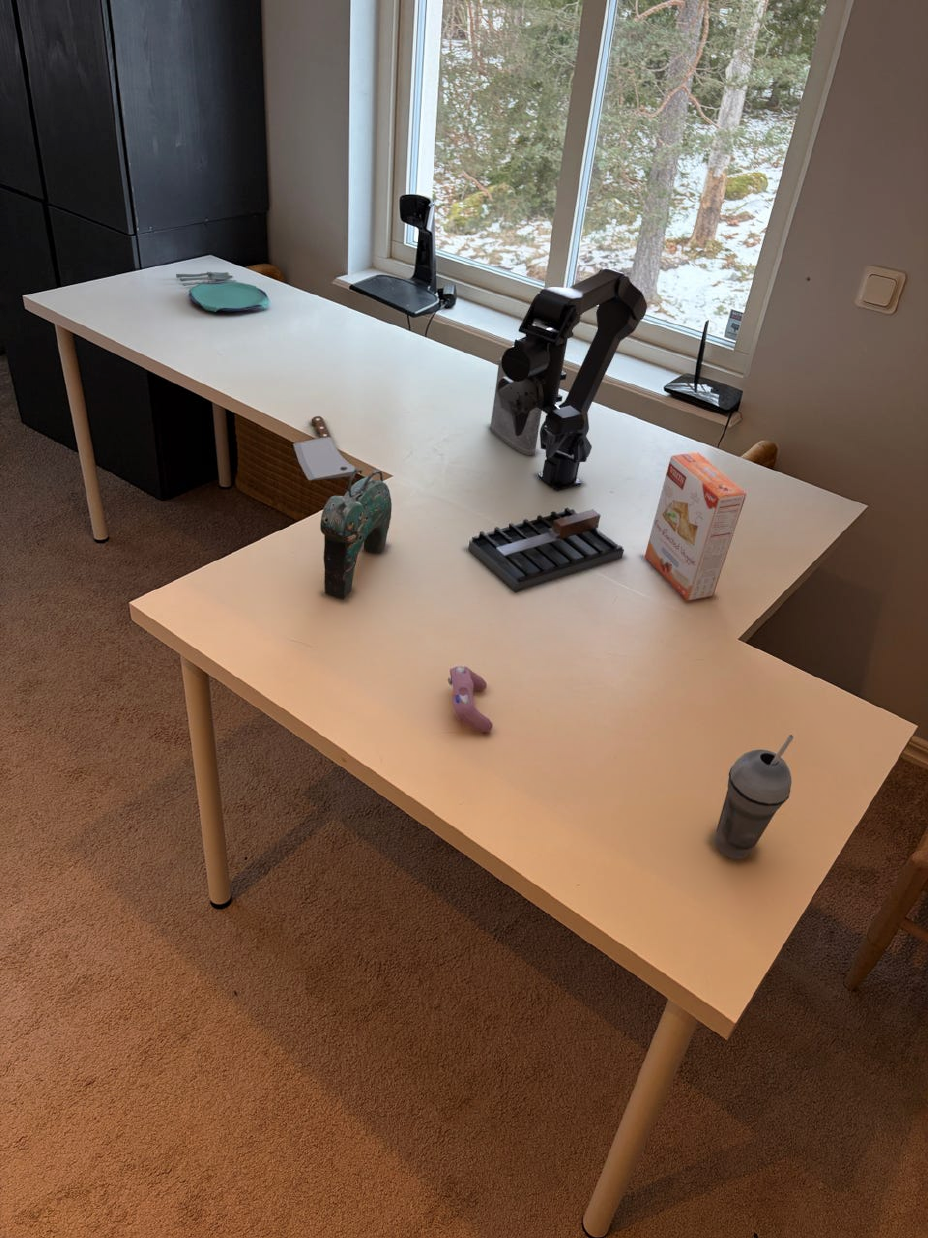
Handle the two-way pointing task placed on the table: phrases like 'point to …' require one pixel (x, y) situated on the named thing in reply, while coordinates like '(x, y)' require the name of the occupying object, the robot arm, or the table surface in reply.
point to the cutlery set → (224, 293)
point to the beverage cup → (752, 800)
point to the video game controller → (468, 698)
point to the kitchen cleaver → (322, 455)
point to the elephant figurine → (353, 529)
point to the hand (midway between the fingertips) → (533, 446)
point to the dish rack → (542, 552)
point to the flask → (505, 427)
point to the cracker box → (694, 525)
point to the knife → (555, 532)
